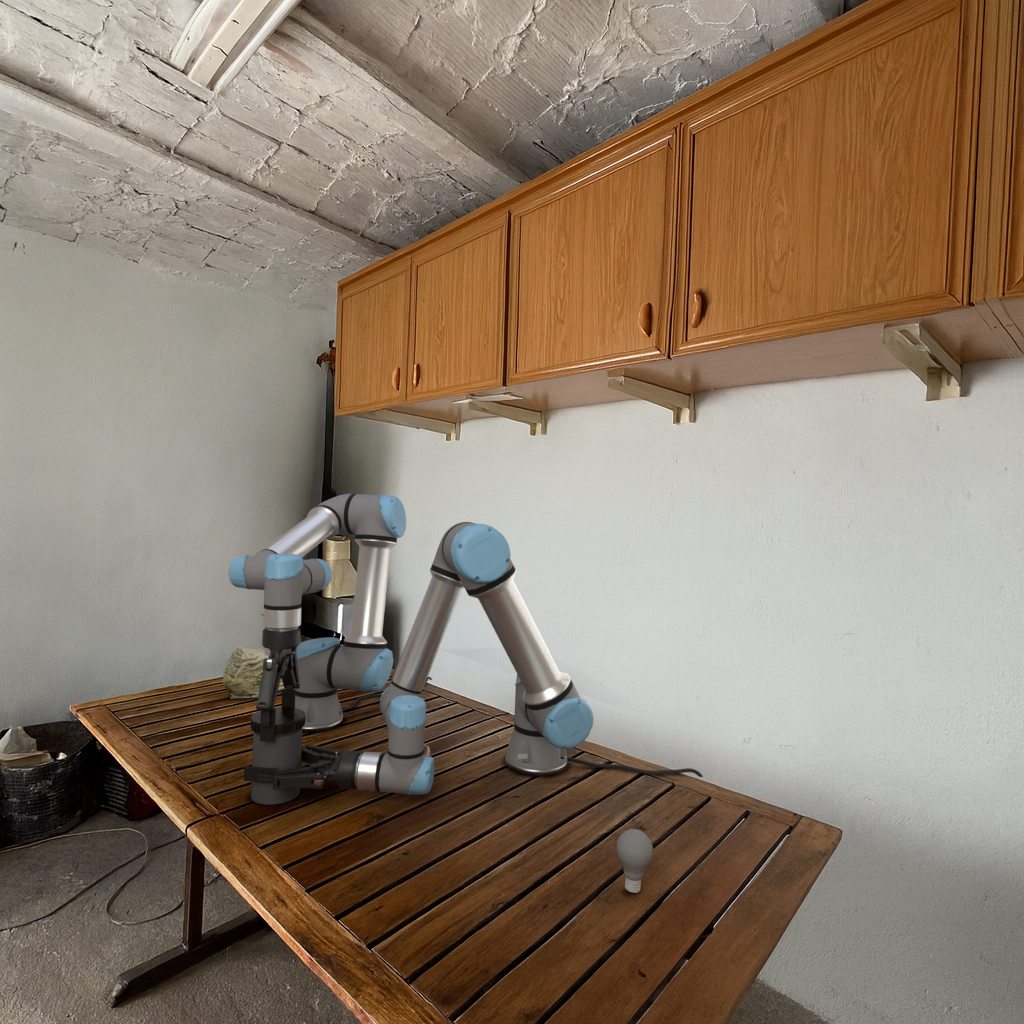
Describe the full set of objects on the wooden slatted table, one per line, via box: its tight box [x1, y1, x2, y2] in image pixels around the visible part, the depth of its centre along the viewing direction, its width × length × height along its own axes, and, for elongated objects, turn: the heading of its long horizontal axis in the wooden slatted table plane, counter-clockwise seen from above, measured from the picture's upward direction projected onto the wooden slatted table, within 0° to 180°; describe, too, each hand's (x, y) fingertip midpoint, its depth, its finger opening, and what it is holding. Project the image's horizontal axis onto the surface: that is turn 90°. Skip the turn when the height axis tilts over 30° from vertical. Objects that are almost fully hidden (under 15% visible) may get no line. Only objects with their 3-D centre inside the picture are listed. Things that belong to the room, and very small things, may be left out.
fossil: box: [222, 646, 286, 699], centre depth 198 cm, size 9×18×15 cm, turn 132°
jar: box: [250, 728, 303, 806], centre depth 134 cm, size 10×10×16 cm
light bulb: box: [615, 828, 654, 894], centre depth 106 cm, size 6×6×10 cm
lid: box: [250, 706, 306, 735], centre depth 134 cm, size 11×11×2 cm
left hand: (278, 729), depth 134 cm, fingers open, 12 cm apart
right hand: (256, 762), depth 134 cm, fingers closed on jar, 10 cm apart
